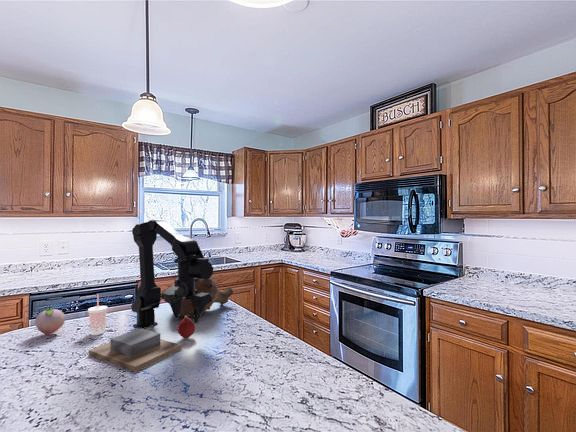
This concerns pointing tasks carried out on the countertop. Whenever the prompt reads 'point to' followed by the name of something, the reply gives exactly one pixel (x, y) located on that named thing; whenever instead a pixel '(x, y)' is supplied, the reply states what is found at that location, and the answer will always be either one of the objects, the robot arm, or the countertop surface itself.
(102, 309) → the beverage cup
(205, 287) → the jug
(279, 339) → the countertop surface
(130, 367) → the stacking base
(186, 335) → the onion
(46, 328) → the decorative fruit
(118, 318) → the countertop surface
